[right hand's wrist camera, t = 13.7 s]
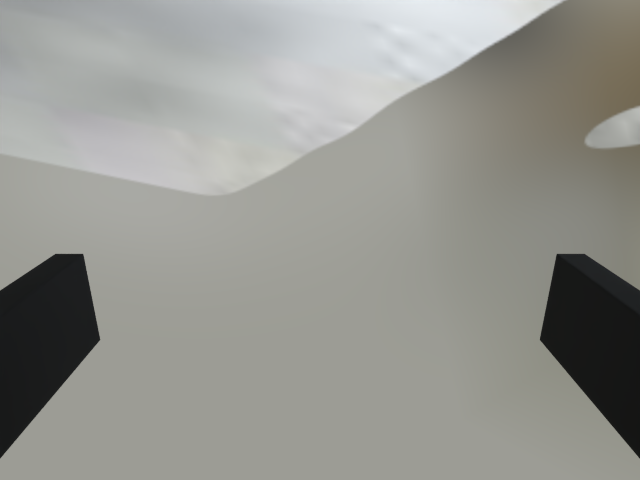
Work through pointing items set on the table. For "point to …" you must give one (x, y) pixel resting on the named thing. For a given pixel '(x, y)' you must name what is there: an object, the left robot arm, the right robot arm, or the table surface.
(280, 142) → the table surface
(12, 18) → the table surface
